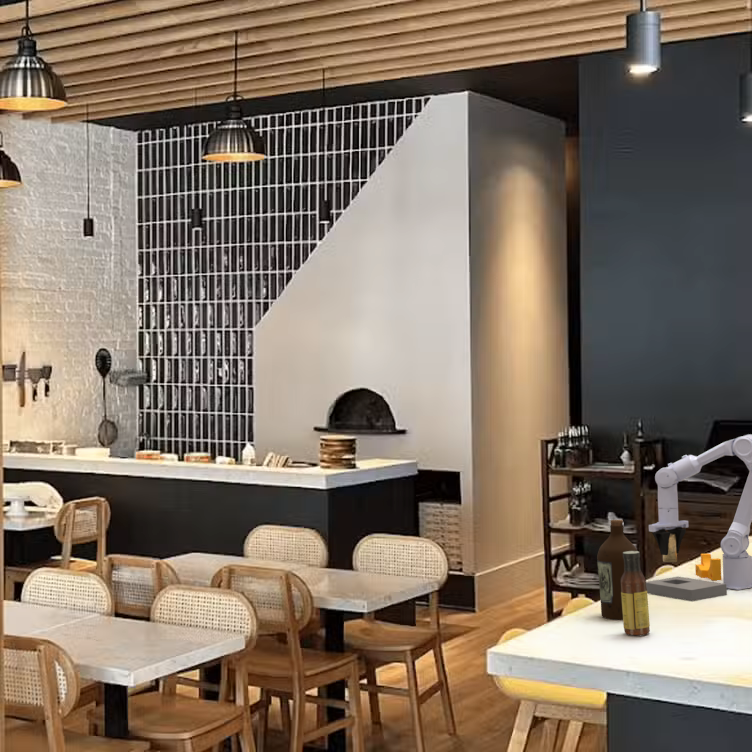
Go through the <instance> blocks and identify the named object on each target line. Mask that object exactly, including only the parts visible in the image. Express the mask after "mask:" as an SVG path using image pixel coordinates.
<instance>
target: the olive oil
mask: <svg viewBox="0 0 752 752" xmlns="http://www.w3.org/2000/svg"><path fill="white" fill-rule="evenodd" d="M623 523H624V520H623V519H611V520H610V525H609V529H610V531H609V532H610V535H609V536H608V538H607V539H606V540H604V542H603V543H602V544H601V545H600V546H599V549H598V552H597V555H596V559H597V562H596V563H597V574H598V585H599V586H598V587H599V596H600V597H599V598H600V611H601V617H602V618H604V619H607V620H615V621H623V611H622V597H621V577H622V575H623V573H624V571H625V570H624V558H623V552H627V551H638V549H637V548H636V547H635V545H634V544H633V543H632V542H631V541H630V540H629V539H628V538H627V537H626V536H625V534H624V532H625V531H624V524H623Z"/></svg>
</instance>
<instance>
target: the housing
mask: <svg viewBox="0 0 752 752" xmlns="http://www.w3.org/2000/svg"><path fill="white" fill-rule="evenodd" d="M646 588H647V595H648V594H649V595H654V596H661V597H665V596H666V598H671V597H672V599H677V598H678V600H684V601H690V602H694V601H701V600H705V599H711V598H716V597H721V596H722V597H723V596H726V595H728V592H727V591H728V590H727V589H728V588H727V587H726V584H723V582H718V581H717V582H716V581H711V580H710V581H709V580H705V579H704V580H703V579H699V578H698V579H696V578H690V577H684V576H673V577H666V578H661V579H656V580H655V579H653V580H649V581H646Z"/></svg>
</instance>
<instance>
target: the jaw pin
mask: <svg viewBox="0 0 752 752" xmlns="http://www.w3.org/2000/svg"><path fill="white" fill-rule="evenodd" d="M677 555H678V553H677V552H676V534H673V533H670V537H669V542H668V555H662V562H664V563H676V562H677V561H678V556H677Z"/></svg>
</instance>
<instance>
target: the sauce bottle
mask: <svg viewBox="0 0 752 752" xmlns="http://www.w3.org/2000/svg"><path fill="white" fill-rule="evenodd" d="M623 558H624V570H625V571H624V573H623V575H622V577H621V597H622V611H623V620H622V621H623V622H622V623H623V630H624V633H625V634H626V635H627V636H634V637H637V636H640V635H641V637H642V636H646V635H648V634H650V632H651V629H650V626H651V623H650V612H649V601H648V600H649V598H648V593H647V588H646V582H647V580H646V578H645V576H644V574H643V572H642V570H641V561H640V558H641V553H640V551H638V550H637V551H627V552H623Z"/></svg>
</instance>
